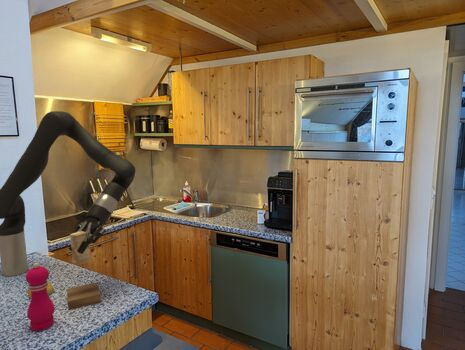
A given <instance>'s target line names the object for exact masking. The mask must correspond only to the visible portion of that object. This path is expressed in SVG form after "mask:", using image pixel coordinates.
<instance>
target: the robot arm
mask: <svg viewBox="0 0 465 350" xmlns="http://www.w3.org/2000/svg"><path fill="white" fill-rule="evenodd" d="M60 136H66V137H68V138H70V139H72V140H74V141H75V142H76V143H78V145H79V146H80V147H81V148H82V150H83V151H84V152H85V154H86V155H87V157H89V158H90V159H91V160H92V161H94V162H95V163H96V164H97V165H99V166H100V167H102V168H103V169H105V170H111V171H113V173H115V174H114V177H113V178H112V180H111V181H110V182H108V183H107V184H106V186H105V187H103V190H102V191H101V192H100V194H99V195H98V197H97V198H96V199H95V201H94V202H93V204H92V205H91V206H90V208H89V209H88V211H87V212H86V219H85V220H83V222H80V221H76V224H75V227H74V229H73V231H72V233H71V234H73V233H76V232H81V231H83V232H86V237H85V238H84V241H83V242H82V243H81V245H80V246H79V248H78V249H77V252H78V253H80V254H83V252H84V251H85V250H86V248H87V247H88V245H89V246H90V245H91V244H96V243H97V242H98V240H99V239H100V238H101V237H102V236H103V235H104V234H105V233H106V232H107V229H105V228H104V227H103V226H104V225H106V224H107V222H108V221H109V219H110V218H111V217H112V214H113V213H114V212H115V209H117V206H118V204H119V202H120V200H121V199H122V197H123V195H124V193H125V192H126V191H127V190H128V188H129V187H130V186H131V185H132V183H133V181H134V179H135V175H136V167H135V165H134V164H133V163H132V162H130V161H129V160H128V159H126V158H124V157H122V156H120V155H119V154H118V155H117V154H116V153H115V152H114V151H112V150H111V149H109V147H107V146H105V145H104V144H103V143H102V142H100V140H98V139H96V138H95V137H94V136H93V135H92V134H91V133H90V132H89V131H88V130H87V129H85V128H84V126H83V125H82V124H81V123H80V122H79V121H78V120H77V119H76V118H75V117H74V116H73V115H72V114H70V113H69V112H66V111H55V110H54V111H49V112H46V113H45V115H44V116H43V117H42V118H41V120H40V122H39V125H38V127H37V130H36V131H35V133H34V135H33V137H32V140H31V141H30V143H28V145H27V146H26V148H25V150H24V152H23V154H22V155H21V157H20V158H19V159H18V161H17V163H16V165H15V167H14V168H13V170H12V171H11V172H10V175H9V176H8V177H7V179H6V180H5V182H4V183H3V185H2V187H1V188H0V220H3V222H2V223H1V224H0V268H1V274H2V276H3V277H15V276H18V275H22V274H24V273H27V272H28V271H29V266H28V265H29V264H28V253H27V247H26V237H25V236H26V235H25V225H26V207H25V202H24V199H23V197H22V196H21V195H22V194H23V193H24V191H26V190H27V189H28V188H29V187H31V186H32V185H34V183H35V182H36V181H38V179H39V178H40V177H41V175H42V174H43V172H44V171H45V169H47V166H48V162H49V153H50V149H51V148H52V147H53V145H54V143H55V142H56V140H57V139H58V138H59V137H60ZM68 250H69V251H71V252H72V248H71V244H70V245H69V247H68Z"/></svg>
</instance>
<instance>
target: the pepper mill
mask: <svg viewBox="0 0 465 350" xmlns="http://www.w3.org/2000/svg"><path fill="white" fill-rule="evenodd" d="M49 277H50V272H49V270H48V268H47V267H44V266H43V265H42V266H41V264H40V263H39V262H34V263H33V265H32V268H30V269H28V270H27V271H26V274H25V281H26V282H27V284H28V289H29V290H30V291H31V298H30V303H29V305H28V308H27V313H26V314H27V315H26V316H27V319H29V321H30V322H29V326H30V329H31V330H32V331H38V332H39V331H43V330H45V329H48V328H50V327H51V326H52V325H53V324H54V323H55V319H54V317H55V316H54V315H53V314H54V313H55V311H56V310H55V305H54V302H53V300H52V299H51V298H50V295H48V294H47V286H48V282H49V281H48V278H49Z"/></svg>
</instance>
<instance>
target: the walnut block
mask: <svg viewBox="0 0 465 350" xmlns="http://www.w3.org/2000/svg"><path fill="white" fill-rule="evenodd" d="M101 296H102V295H101V292H100V288H99V286H98V283H97V282H96V281H95V282H92V283H87V284H83V285H78V286H75V287H69V288H66V297H67V305H68V311H70V310H74V309H79V308H83V307H86V306H87V307H88V306H92V305H96V304H99V303H102V298H101Z"/></svg>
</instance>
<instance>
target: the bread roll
mask: <svg viewBox="0 0 465 350" xmlns="http://www.w3.org/2000/svg"><path fill="white" fill-rule="evenodd" d="M54 291H55V287H54V285H53V284H52V283H51V282H49V281H48V286H47V294H48V296H50V295H51V294H52V293H54ZM26 294H27V295H28V297H29V299H31V291H30V290H29V288H28V289H27V292H26Z"/></svg>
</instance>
